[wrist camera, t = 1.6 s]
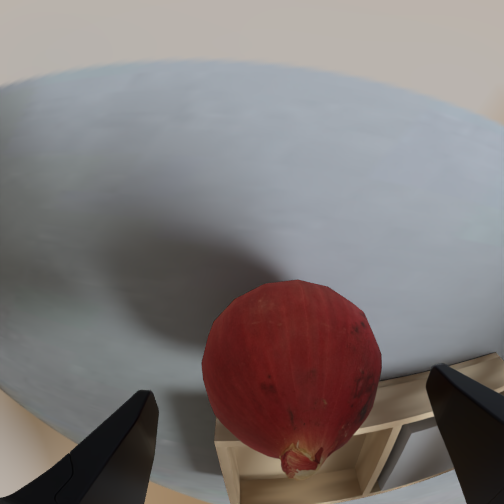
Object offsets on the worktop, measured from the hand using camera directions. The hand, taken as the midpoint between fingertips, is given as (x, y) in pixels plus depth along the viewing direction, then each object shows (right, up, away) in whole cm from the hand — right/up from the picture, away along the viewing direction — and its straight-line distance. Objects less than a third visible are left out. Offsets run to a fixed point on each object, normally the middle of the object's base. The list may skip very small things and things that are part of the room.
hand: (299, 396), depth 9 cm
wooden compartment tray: (+6, -7, +8) cm, 12 cm away
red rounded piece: (0, +2, +5) cm, 5 cm away
